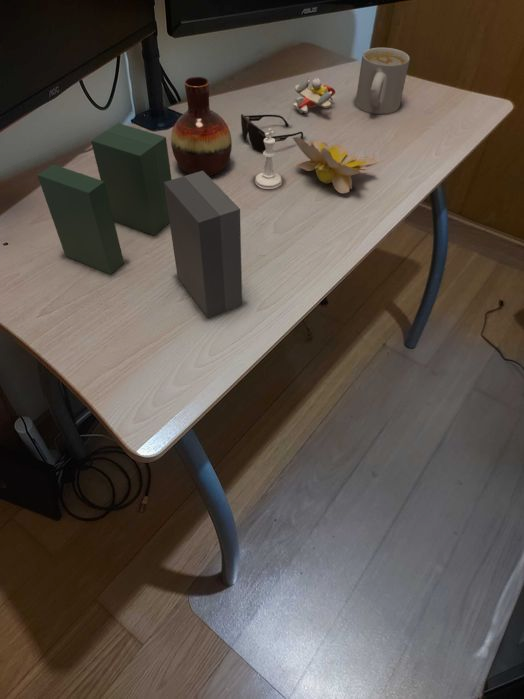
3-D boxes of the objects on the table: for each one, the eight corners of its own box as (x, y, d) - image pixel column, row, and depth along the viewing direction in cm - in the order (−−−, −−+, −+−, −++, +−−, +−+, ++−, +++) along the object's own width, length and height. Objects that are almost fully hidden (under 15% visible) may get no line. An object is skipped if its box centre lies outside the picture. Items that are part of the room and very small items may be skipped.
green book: (111, 274, 78) (88, 192, 67) (65, 256, 80) (36, 174, 70) (124, 262, 80) (104, 181, 69) (79, 245, 82) (53, 164, 72)
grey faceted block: (207, 318, 72) (198, 222, 60) (177, 277, 78) (163, 181, 66) (242, 304, 74) (240, 208, 62) (210, 265, 80) (202, 170, 67)
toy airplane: (334, 102, 117) (338, 72, 112) (329, 120, 111) (333, 90, 106) (294, 98, 118) (296, 68, 113) (288, 116, 112) (289, 85, 107)
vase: (165, 159, 100) (154, 75, 88) (218, 146, 103) (213, 64, 92) (187, 187, 94) (177, 100, 82) (242, 173, 97) (240, 88, 85)
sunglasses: (232, 134, 106) (234, 109, 103) (281, 128, 112) (284, 104, 108) (258, 157, 101) (261, 131, 97) (308, 150, 106) (312, 125, 102)
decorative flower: (393, 176, 93) (392, 126, 85) (348, 210, 91) (342, 162, 83) (335, 149, 102) (330, 101, 94) (293, 179, 99) (283, 132, 91)
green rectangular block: (154, 236, 84) (140, 155, 74) (110, 220, 87) (90, 140, 76) (176, 216, 88) (166, 136, 77) (134, 201, 91) (118, 122, 80)
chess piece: (249, 180, 95) (249, 127, 88) (270, 172, 97) (272, 119, 90) (265, 192, 93) (266, 138, 85) (287, 183, 95) (290, 130, 87)
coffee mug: (366, 90, 121) (373, 44, 114) (406, 101, 118) (416, 53, 110) (341, 112, 114) (348, 64, 106) (383, 124, 111) (393, 75, 103)
